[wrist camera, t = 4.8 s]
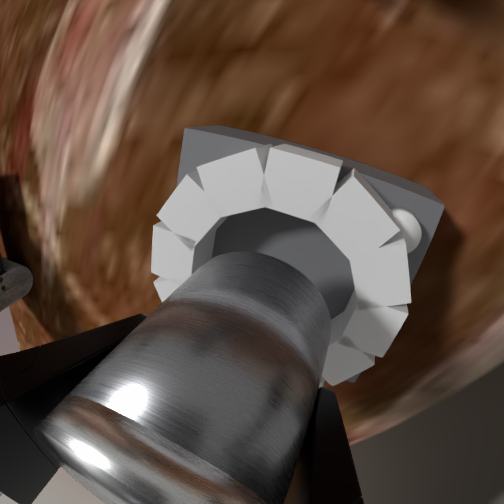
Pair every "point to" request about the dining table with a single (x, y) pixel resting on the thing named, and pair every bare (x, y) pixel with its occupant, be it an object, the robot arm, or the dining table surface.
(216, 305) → the door knob
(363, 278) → the segmented white collar
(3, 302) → the vintage camera
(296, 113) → the dining table surface
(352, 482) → the robot arm
